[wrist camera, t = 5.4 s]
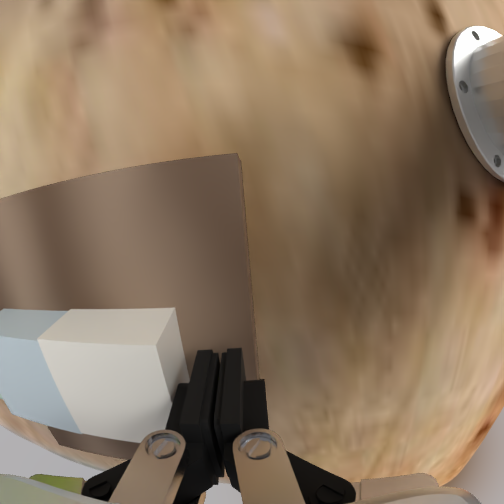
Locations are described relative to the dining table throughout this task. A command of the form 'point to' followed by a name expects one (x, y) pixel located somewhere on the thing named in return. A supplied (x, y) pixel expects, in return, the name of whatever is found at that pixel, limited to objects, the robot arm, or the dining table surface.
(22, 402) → the pale blue square block
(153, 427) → the cream square block
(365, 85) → the dining table surface
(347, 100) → the dining table surface
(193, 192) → the brown wooden block
